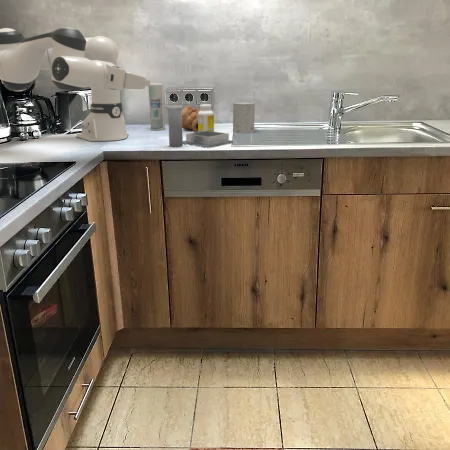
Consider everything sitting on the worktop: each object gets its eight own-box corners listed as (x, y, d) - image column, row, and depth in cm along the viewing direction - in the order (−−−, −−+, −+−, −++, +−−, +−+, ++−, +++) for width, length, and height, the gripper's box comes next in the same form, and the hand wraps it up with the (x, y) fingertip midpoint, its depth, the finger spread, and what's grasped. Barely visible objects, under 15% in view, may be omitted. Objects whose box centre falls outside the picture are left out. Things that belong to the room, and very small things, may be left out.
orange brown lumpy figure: (212, 136, 230) (182, 125, 232) (219, 114, 227) (188, 103, 228) (202, 142, 213) (169, 130, 214) (209, 118, 209) (176, 106, 210)
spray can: (148, 130, 223) (146, 84, 217) (152, 128, 230) (150, 83, 223) (163, 130, 223) (161, 84, 216) (166, 128, 229) (164, 83, 222)
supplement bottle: (215, 135, 212) (214, 104, 207) (213, 137, 205) (212, 105, 201) (199, 134, 212) (198, 103, 208) (197, 137, 206) (196, 105, 202)
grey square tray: (181, 143, 192) (181, 134, 191) (206, 138, 202) (206, 129, 201) (208, 147, 183) (208, 138, 182) (233, 142, 193) (233, 133, 192)
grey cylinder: (238, 133, 215) (238, 104, 211) (229, 130, 223) (229, 102, 219) (258, 132, 218) (258, 103, 214) (248, 129, 226) (248, 101, 222)
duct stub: (165, 146, 187) (164, 105, 182) (176, 144, 191) (175, 104, 186) (175, 147, 184) (174, 106, 179) (186, 145, 188) (185, 105, 183)
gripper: (86, 82, 165) (121, 87, 175) (121, 90, 152) (157, 95, 162) (88, 62, 163) (124, 68, 173) (124, 69, 150) (160, 75, 160)
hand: (140, 81), depth 167 cm, fingers open, 8 cm apart
